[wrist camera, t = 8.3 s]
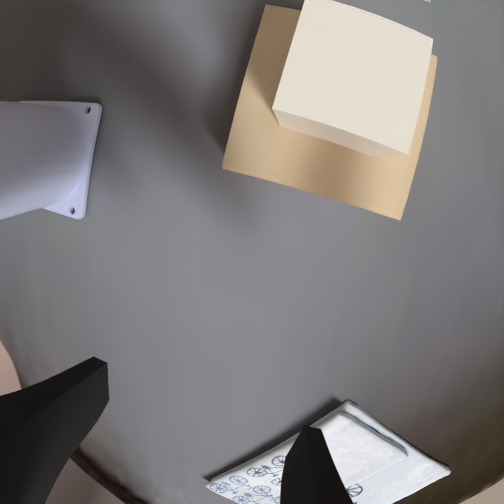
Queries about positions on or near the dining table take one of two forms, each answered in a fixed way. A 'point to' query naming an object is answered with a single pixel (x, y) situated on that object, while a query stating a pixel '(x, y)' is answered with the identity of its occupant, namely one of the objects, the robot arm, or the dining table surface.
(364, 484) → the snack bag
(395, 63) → the cream block
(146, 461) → the dining table surface
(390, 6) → the dining table surface
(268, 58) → the oak base
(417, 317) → the dining table surface
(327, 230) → the dining table surface
